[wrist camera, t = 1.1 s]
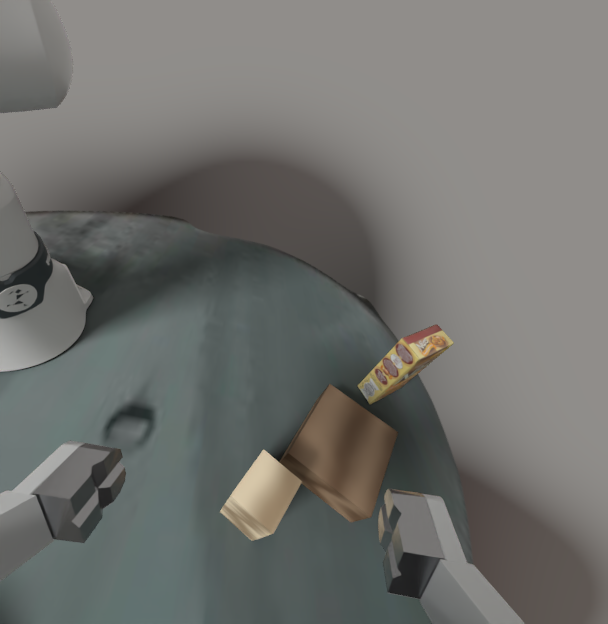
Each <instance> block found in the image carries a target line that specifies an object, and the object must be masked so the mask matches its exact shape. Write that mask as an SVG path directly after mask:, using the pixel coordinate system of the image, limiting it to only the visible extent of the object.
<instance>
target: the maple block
mask: <svg viewBox="0 0 608 624" xmlns="http://www.w3.org/2000/svg"><path fill="white" fill-rule="evenodd" d="M301 483H302V481H301V480H300V479H299V478H297V477H296V476H295V475H294V474H293V473H291V472H290V471H289V470H288V469H287V468H285V467H284V466H283V465H282V464H281V463H279V462H278V461H277V460H276V459H275V458H273V457H272V456H271V455H270V454H269V453H267V452H266V451H265V450H263V451H262V452H261V454H260V455H259V456H258V458H257V459H256V461H255V462H254V463H253V465H252V466H251V468H250V469H249V470H248V472H247V473H246V475H245V476H244V477H243V479H242V480H241V482H240V483H239V484H238V486H237V487H236V489H235V490H234V491H233V493H232V494H231V496H230V497H229V499H228V500H227V502H226V503H225V505H224V506H223V507H222V509H221V510H220V512H221V513H222V514H223V515H224V516H225V517H226V518H227V519H228V520H230V521H231V522H232V523H233V524H234V525H235V526H236V527H237V528H238V529H239V530H241V531H242V532H243V533H244V534H245V535H246V536H247V537H248V538H249V539H250V540H252V541H254V540H256V539H259V538H262V537H265V536H268V535H271V534H273V533H274V531H275V530H276V528H277V526H278V524H279V522H280V521H281V519H282V517H283V515H284V513H285V512H286V510H287V508H288V506H289V504H290V503H291V501H292V499H293V497H294V495H295V494H296V492H297V490H298V488H299V486H300V485H301Z"/></svg>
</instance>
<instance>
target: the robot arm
mask: <svg viewBox="0 0 608 624" xmlns="http://www.w3.org/2000/svg"><path fill="white" fill-rule="evenodd" d="M72 74H73V59H72V53H71V47H70V42H69V39H68V36H67V33H66V30H65V27H64V25H63V22H62V20H61V18H60V16H59V14H58V12H57V10H56V8H55V6H54V4H53V2H52V1H51V0H0V113H8V112H22V111H32V110H41V109H50V108H57V107H58V106H59V105H60V104H61V102H62V101H63V100H64V98H65V97H66V95H67V93H68V91H69V89H70V85H71V81H72ZM92 300H93V296H92V294H91V292H90V291H88V290H86V289H85V288H83V287H81V286H79V285H77V284H76V283H75V281H74V279H73V277H72V275H71V273H70V271H69V269H68V267H67V266H66V265H65V264H61V263H59V262H58V261H56V260H54V259H52V258H50V253H49V251H48V249H47V247H46V245H45V244H44V242H43V241H42V239H41V237H40V236H39V235H38V234H37V233H36V232H35V231H33V229H32V227H31V225H30V222H29V220H28V218H27V216H26V213H25V211H24V209H23V207H22V204H21V202H20V200H19V198H18V196H17V193H16V191H15V189H14V187H13V185H12V183H11V182H10V181H9V180H8V179H7V177H6V176H5V175H4V174H2V173H1V172H0V372H2V371H13V370H19V369H24V368H28V367H32V366H35V365H38V364H40V363H43V362H45V361H48V360H50V359H52V358H54V357H56V356H57V355H59V354H61V353H62V352H64V351H65V350H66V349H68V348H69V347H70V346H71V345H72V344H73V343H74V342H75V341H76V340H77V339H78V338H79V336H80V335H81V333H82V331H83V329H84V326H85V322H86V310H87V308H88V307H89V305H90V304H91V302H92ZM122 457H123V456H122V453H121V449H117V448H111V447H105V446H99V445H94V444H88V443H82V442H76V441H68V442H66V443H64V444H62V445H61V446H60V447H59V448H58V449H57V450H56V451H55V452H54V453H53V454H51V455H50V456H49V457H48V458H47V459H46V460H45V461H44V462H43V463H42V464H41V465H40V466H39V467H37V468H36V469H35V470H34V471H33V472H32V473H31V474H30V475H29V476H28V477H27V478H26V479H24V480H23V481H22V482H21V483H20V484H19V485H18V486H17V487H16V488H15V489H14V490H13V491H5V492H3V493H1V494H0V581H1V580H3V579H4V578H5V577H7V576H8V575H9V574H11V573H12V572H13V571H15V570H16V569H17V568H19V567H20V566H21V565H23V564H24V563H25V562H27V561H28V560H29V559H31V558H32V557H33V556H35V555H36V554H37V553H39V552H40V551H41V550H43V549H44V548H45V547H46V546H48V545H49V544H50V543H52V542H53V541H54V540H53V539H57V540H65V541H73V542H80V543H85V541H86V540H87V538H88V537H89V536H90V534H91V533H92V531H93V530H94V528H95V527H96V526H97V524H98V523H99V521H100V520H101V519H102V513H103V508H105V507H106V506H108V505H109V504H111V503H112V502H114V500H115V499H116V497H117V496H118V494H119V493H120V491H121V489H122V486H123V484H124V482H125V475H126V472H125V467H124V466H123V465H122V464H121V463H120V462H119V461H120V460H121V458H122ZM384 498H385V504H384V505H383V506H381V509H380V512H379V521H378V530H379V539H380V544H381V546H382V547H383V549H384V550H385V552H386V555H385V558H384V560H383V567H384V574H385V580H386V587H387V593H391V594H396V595H401V596H407V597H412V598H417V599H420V603H421V605H422V606H423V608H424V610H425V612H426V613H427V615H428V617H429V618H430V620H431V622H432V624H525V623H524V622H523V621H522V620H521V619H520V618H519V616H518V615H517V614H516V613H515V612H514V611H513V609H512V608H511V607H510V606H509V605H508V604H507V603H506V601H505V600H504V599H503V598H502V597H501V596H500V595H499V594H498V592H497V591H496V590H495V589H494V588H493V586H491V584H490V583H489V582H488V581H487V580H486V578H484V576H483V575H482V574H481V573H480V572H479V570H478V569H477V568H476V567H475V566H474V565H473V564H469V563H467V561H466V558H465V555H464V553H463V550H462V547H461V545H460V542H459V540H458V537H457V534H456V532H455V529H454V526H453V524H452V521H451V519H450V516H449V513H448V511H447V508H446V505H445V503H444V500H443V499H442V498H441V497H440V496H434V495H427V494H421V493H417V492H409V491H402V490H394V489H388V490H387V491H386V493H385V496H384Z"/></svg>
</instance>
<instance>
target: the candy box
mask: <svg viewBox="0 0 608 624" xmlns="http://www.w3.org/2000/svg"><path fill="white" fill-rule="evenodd" d="M451 345H453V341H452V340H451V339H450V338H449V337H448V336H447V335H446V334H445V333H444V331H443V330H442V329H441V328H440V327H439V326H438V325H433V326H431V327H429V328H426V329H424V330H421V331H419V332H416V333H414V334H411V335H409V336H407V337H404V338H402V339H401V340H400V341H399V342H398V343H397V344H396V345H395V346H394V347H393V348H392V349H391V350H390V351H389V352H388V354H387V355H386V356H385V357H384V358H383V359H382V360H381V361H380V362H379V363H378V364H377V365H376V367H375V368H374V369H373V370H372V371H371V372H370V373H369V374H368V375H367V376H366V377H365V378H364V379H363V380H362V381H361V383H360V384H359V385H358V388H359V389H360V391H361V392H362V394H363V395H364V397H365V398H366V400H367V401H368V403H369V404H372V403H374V402H376V401H378V400H380V399H382V398H384V397H385V396H387V395H389V394H391V393H393V392H394V391H396V390H398V389H400V388H401V387H403V386H404V385H405V384H406V383H407V382H408V381H410V380H411V379H412V378H413V377H414V376H416V375H417V374H418V373H419V372H420V371H421V370H422V369H424V368H425V367H426V366H427V365H429V364H430V363H431V362H432V361H433V360H434V359H435V358H437V357H438V356H439V355H440V354H442V353H443V352H444V351H445V350H446V349H448V348H449V347H450V346H451Z"/></svg>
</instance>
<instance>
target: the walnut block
mask: <svg viewBox="0 0 608 624" xmlns="http://www.w3.org/2000/svg"><path fill="white" fill-rule="evenodd" d="M397 434H398V432H397V431H395V430H394V429H393V428H391V427H390V426H388V425H387V424H386V423H384V422H383V421H381V420H380V419H379V418H377V417H376V416H374V415H373V414H372V413H370V412H369V411H367V410H366V409H365V408H363V407H362V406H360V405H359V404H357V403H356V402H355V401H353V400H352V399H350V398H349V397H348V396H346V395H345V394H343V393H342V392H341V391H339V390H338V389H336V388H335V387H334V386H332V385H331V384H329V385H328V387H327V388H326V389H325V390H324V392H323V393H322V394H321V395H320V397H319V398H318V399H317V401H316V402H315V404H314V406H313V407H312V409H311V410H310V412H309V414H308V415H307V417H306V419H305V420H304V422H303V424H302V425H301V427H300V429H299V430H298V432H297V433H296V435H295V437H294V438H293V440H292V442H291V443H290V445H289V447H288V448H287V450H286V451H285V453H284V455H283V456H282V458H281V460H280V461H279V463H281V464H282V465H283V466H284V467H285V468H287V469H288V470H289V471H290V472H291V473H293V474H294V475H295V476H296V477H297V478H299V479H300V480H301V481H302V484H303V485H304V486H305V487H307V488H308V489H309V490H310V491H312V492H313V493H314V494H316V495H317V496H318V497H319V498H321V499H322V500H323V501H324V502H326V503H327V504H328V505H330V506H331V507H332V508H333V509H335V510H336V511H337V512H338V513H340V514H341V515H342V516H344V517H345V518H346V519H347V520H349V521H350V522H354V521H358V520H362V519H366V518H370V517H371V516H372V513H373V510H374V507H375V504H376V500H377V497H378V494H379V491H380V488H381V485H382V482H383V478H384V475H385V472H386V469H387V466H388V463H389V459H390V456H391V453H392V450H393V447H394V444H395V441H396V437H397Z"/></svg>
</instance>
